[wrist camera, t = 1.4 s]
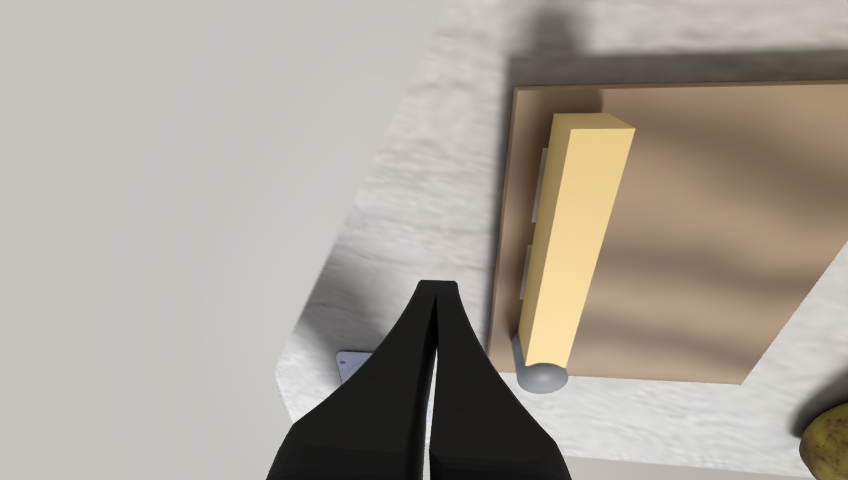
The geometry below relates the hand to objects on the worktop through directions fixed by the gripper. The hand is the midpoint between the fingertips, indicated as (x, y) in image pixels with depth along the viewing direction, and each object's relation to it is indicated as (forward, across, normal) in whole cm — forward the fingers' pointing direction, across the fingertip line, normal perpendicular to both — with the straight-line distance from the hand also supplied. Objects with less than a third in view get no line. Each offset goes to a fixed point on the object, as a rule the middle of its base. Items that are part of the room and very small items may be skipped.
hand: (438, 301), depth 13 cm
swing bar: (+8, -7, +4) cm, 11 cm away
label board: (+10, -13, +4) cm, 17 cm away
